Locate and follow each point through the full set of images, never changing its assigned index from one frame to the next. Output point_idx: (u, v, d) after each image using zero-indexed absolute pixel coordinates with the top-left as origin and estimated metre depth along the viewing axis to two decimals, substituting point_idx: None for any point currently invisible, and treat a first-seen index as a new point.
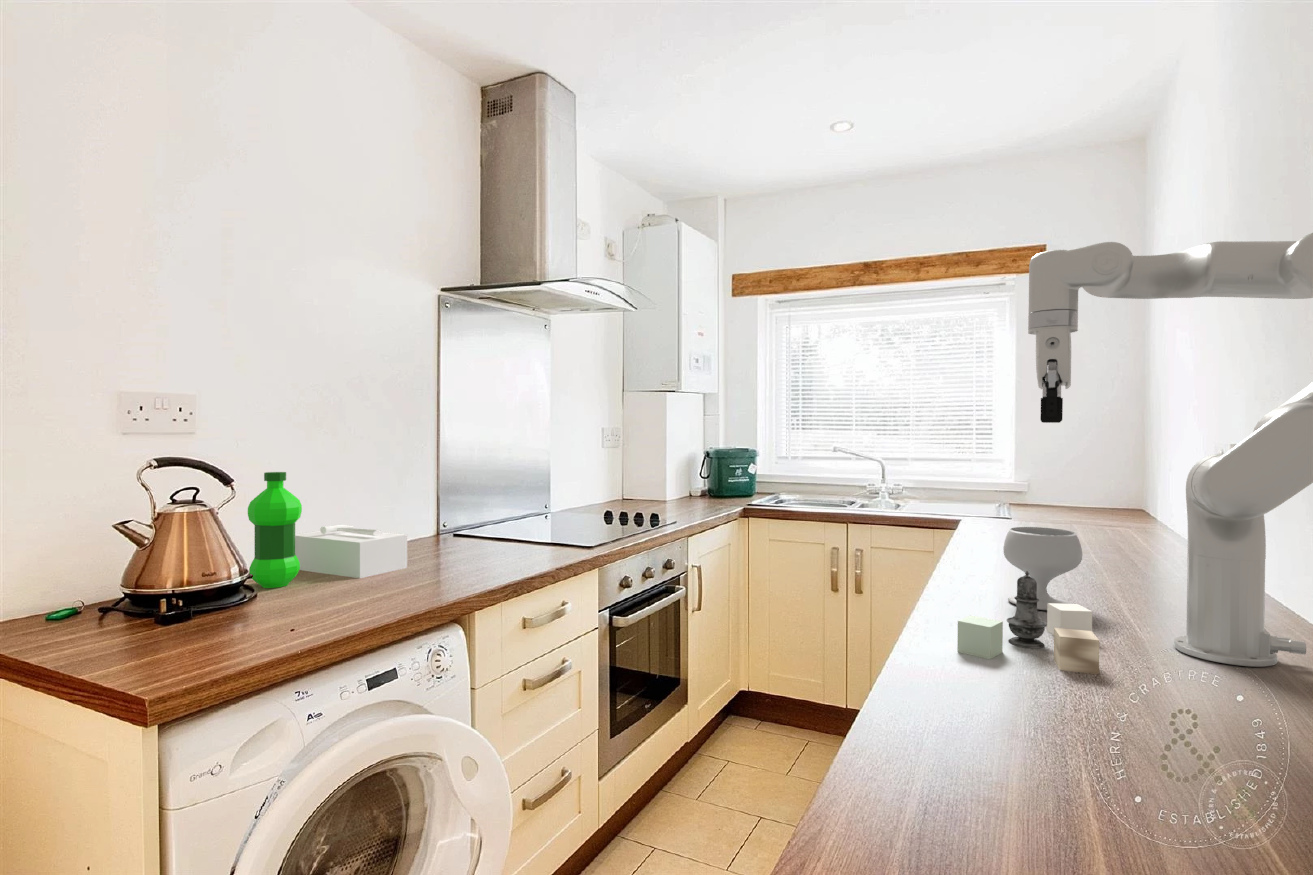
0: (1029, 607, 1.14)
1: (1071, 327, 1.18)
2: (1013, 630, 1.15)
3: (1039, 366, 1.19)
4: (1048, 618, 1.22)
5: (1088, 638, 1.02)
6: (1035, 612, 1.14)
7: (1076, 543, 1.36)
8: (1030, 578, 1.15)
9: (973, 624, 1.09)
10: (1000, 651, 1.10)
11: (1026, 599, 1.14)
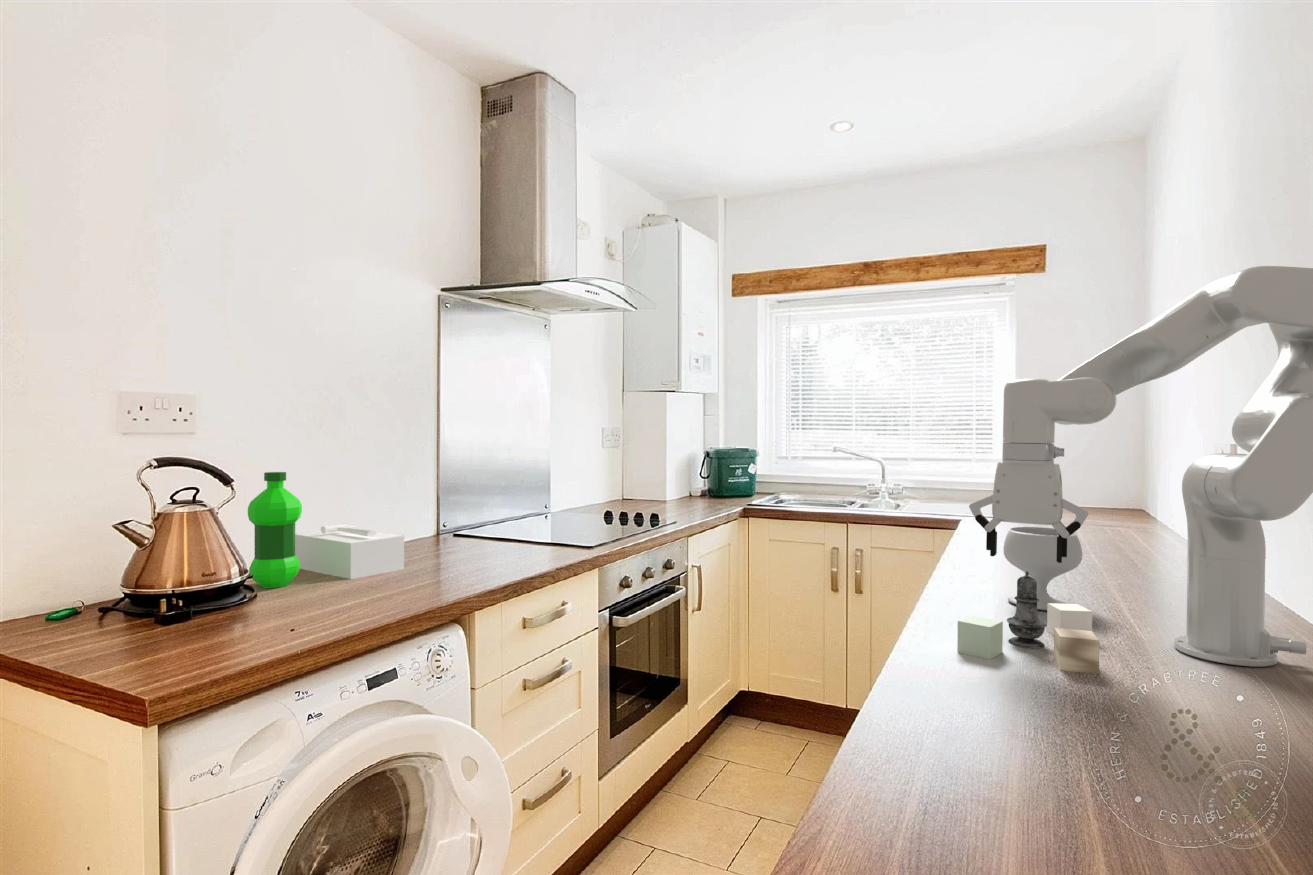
0: (1029, 607, 1.14)
1: None
2: (1013, 630, 1.15)
3: (1060, 504, 1.11)
4: (1048, 618, 1.22)
5: (1088, 638, 1.02)
6: (1035, 612, 1.14)
7: (1076, 543, 1.36)
8: (1030, 578, 1.15)
9: (973, 624, 1.09)
10: (1000, 651, 1.10)
11: (1026, 599, 1.14)
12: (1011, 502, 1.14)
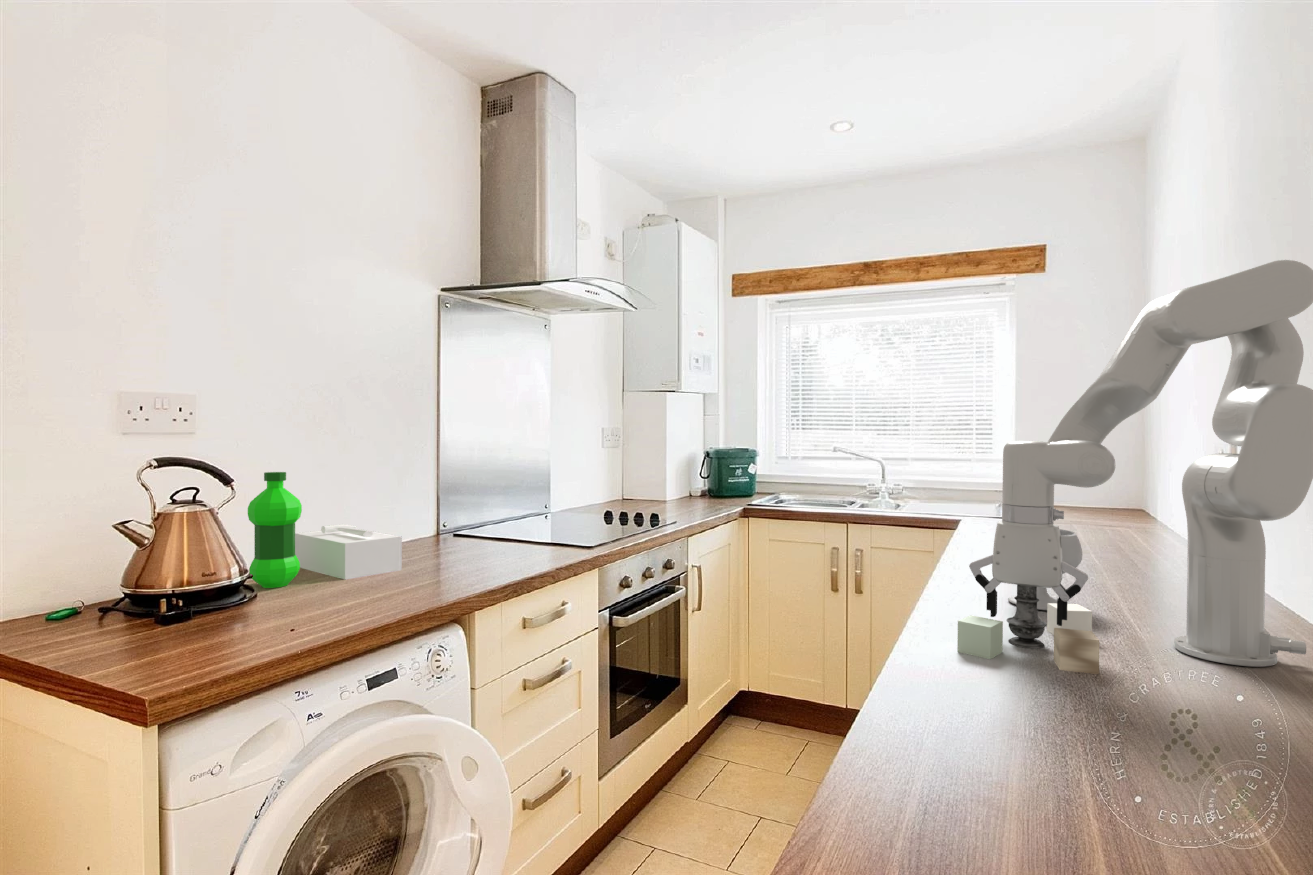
0: (1029, 607, 1.14)
1: None
2: (1013, 630, 1.15)
3: (1060, 567, 1.11)
4: (1048, 618, 1.22)
5: (1088, 638, 1.02)
6: (1035, 612, 1.14)
7: (1076, 543, 1.36)
8: None
9: (973, 624, 1.09)
10: (1000, 651, 1.10)
11: (1026, 599, 1.14)
12: (1011, 564, 1.14)
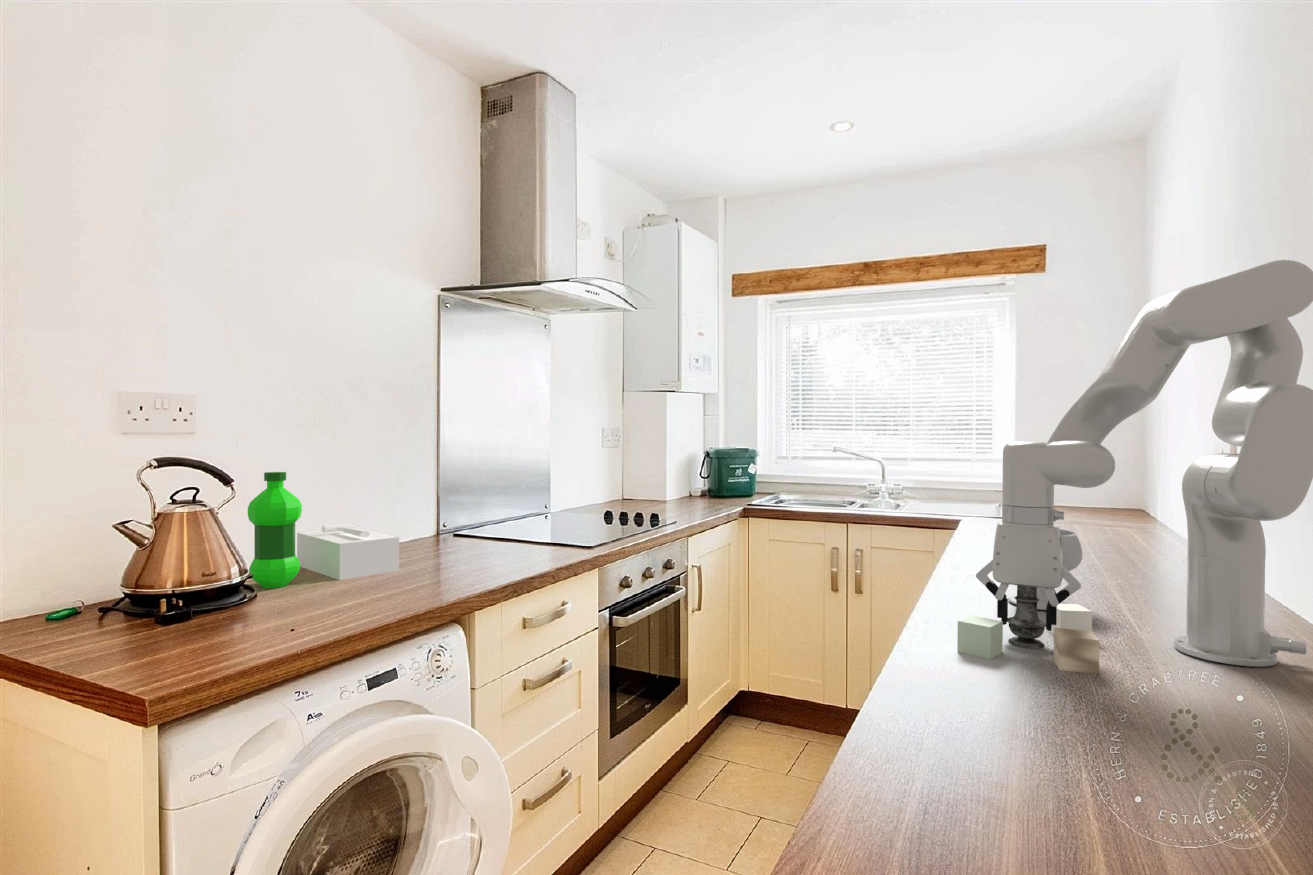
0: (1029, 607, 1.14)
1: None
2: (1013, 630, 1.15)
3: (1060, 568, 1.11)
4: None
5: (1088, 638, 1.02)
6: (1035, 612, 1.14)
7: (1076, 543, 1.36)
8: None
9: (973, 624, 1.09)
10: (1000, 651, 1.10)
11: (1026, 599, 1.14)
12: (1011, 565, 1.14)
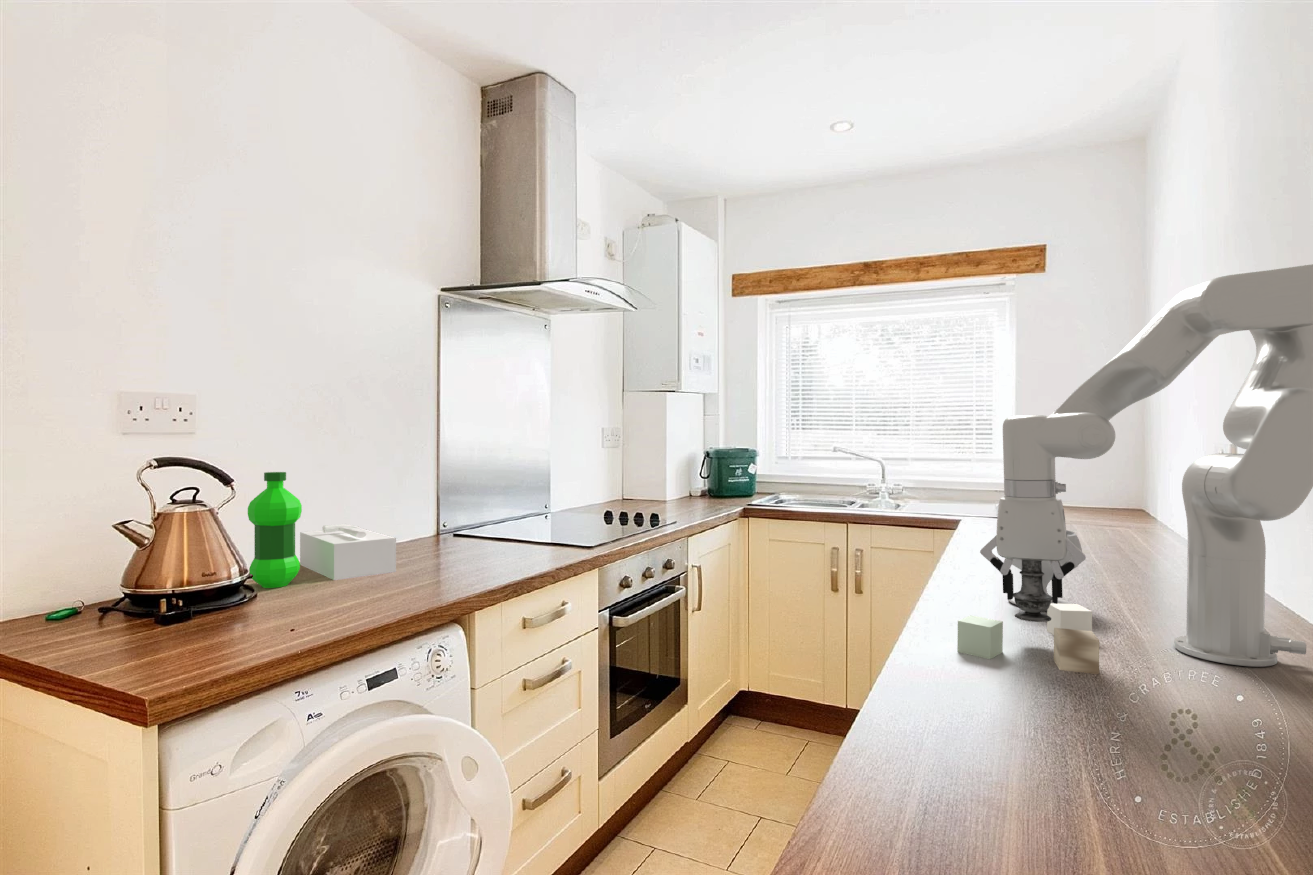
0: (1034, 581, 1.14)
1: None
2: (1020, 604, 1.15)
3: (1064, 540, 1.11)
4: None
5: (1088, 638, 1.02)
6: (1041, 586, 1.14)
7: (1076, 543, 1.36)
8: None
9: (973, 624, 1.09)
10: (1000, 651, 1.10)
11: (1031, 573, 1.14)
12: (1015, 539, 1.14)
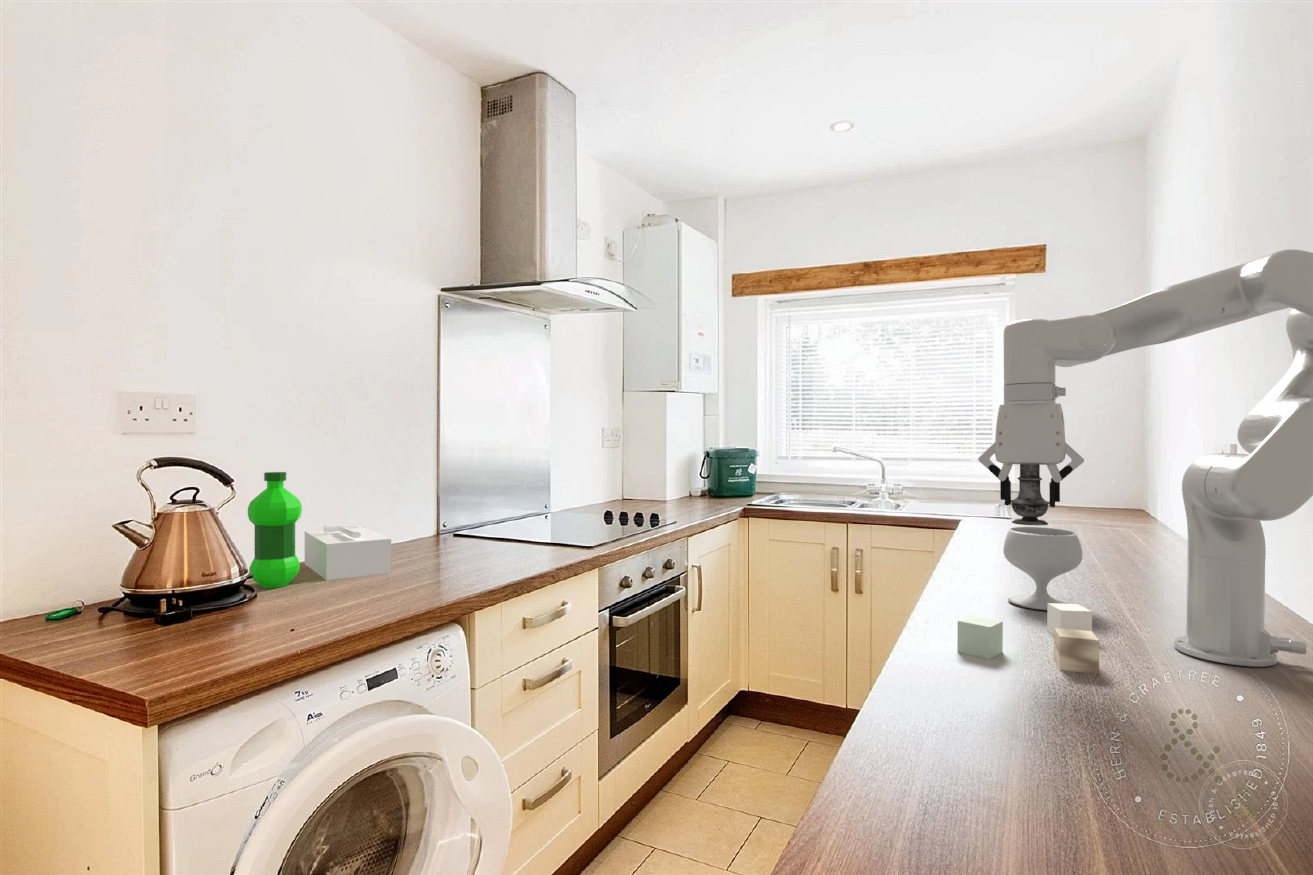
0: (1032, 485, 1.14)
1: None
2: (1017, 509, 1.15)
3: (1062, 443, 1.11)
4: (1048, 618, 1.22)
5: (1088, 638, 1.02)
6: (1038, 490, 1.14)
7: (1076, 543, 1.36)
8: None
9: (973, 624, 1.09)
10: (1000, 651, 1.10)
11: (1029, 477, 1.14)
12: (1014, 443, 1.14)
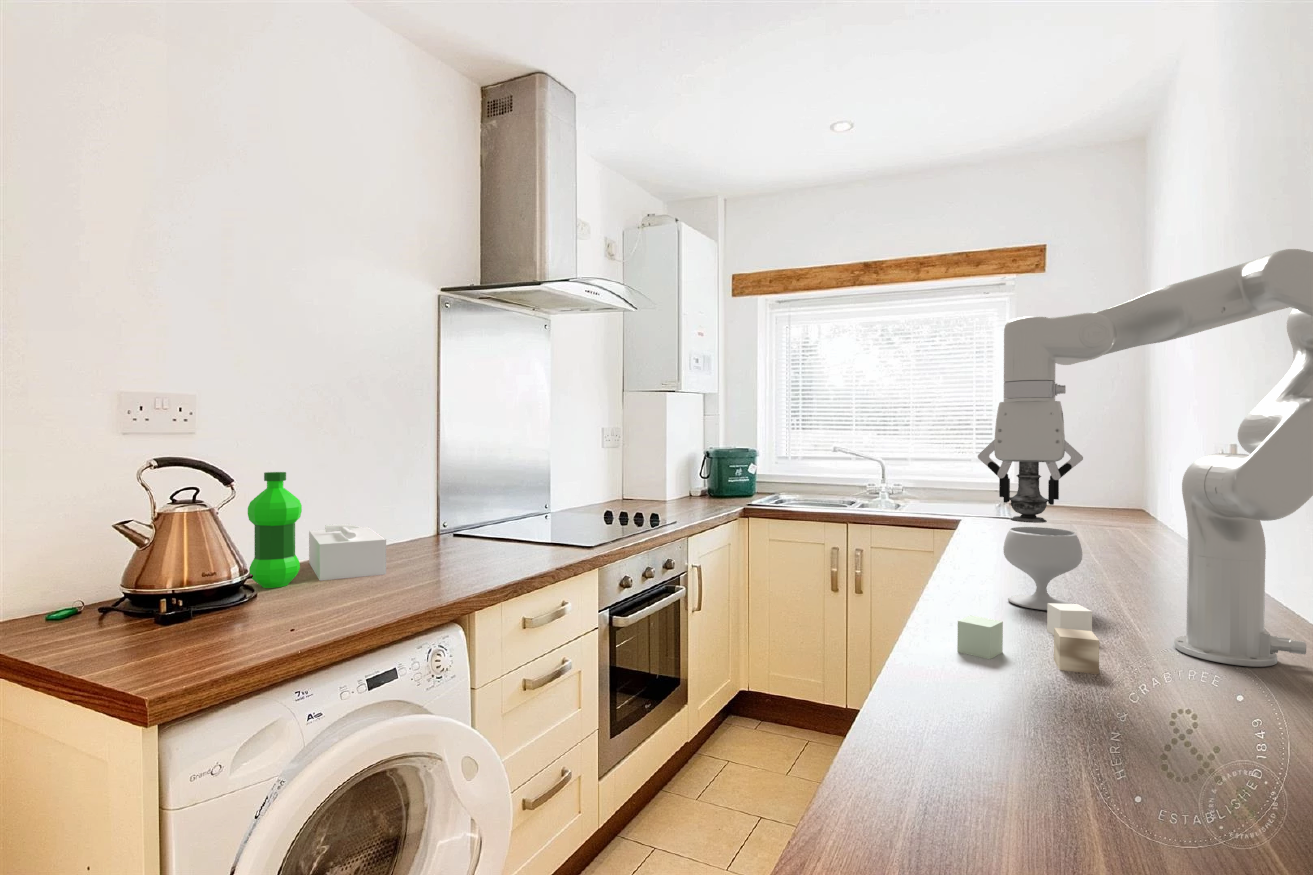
0: (1031, 483, 1.14)
1: None
2: (1016, 506, 1.15)
3: (1062, 440, 1.11)
4: (1048, 618, 1.22)
5: (1088, 638, 1.02)
6: (1037, 488, 1.14)
7: (1076, 543, 1.36)
8: None
9: (973, 624, 1.09)
10: (1000, 651, 1.10)
11: (1028, 474, 1.14)
12: (1013, 441, 1.14)
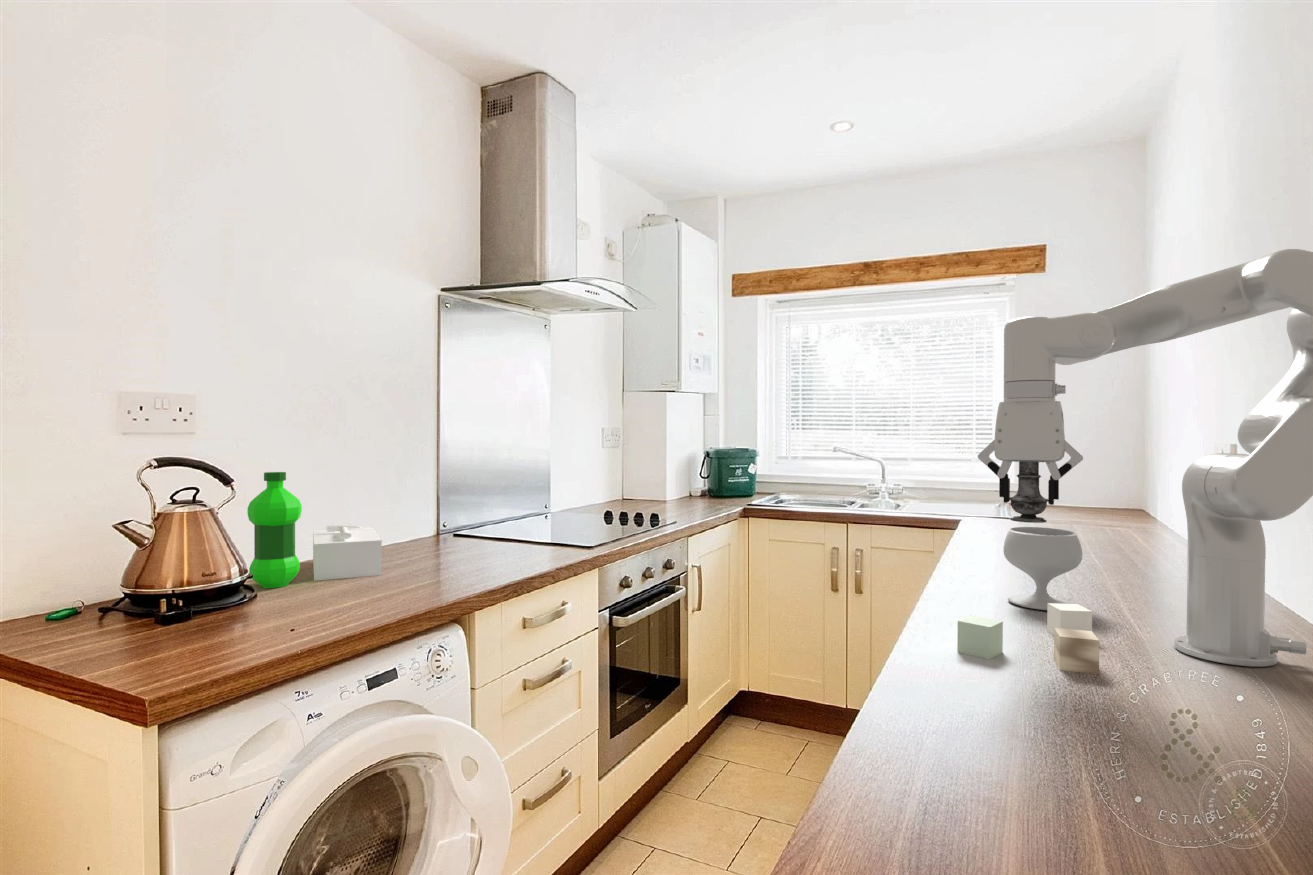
0: (1031, 483, 1.14)
1: None
2: (1016, 506, 1.15)
3: (1062, 440, 1.11)
4: (1048, 618, 1.22)
5: (1088, 638, 1.02)
6: (1037, 488, 1.14)
7: (1076, 543, 1.36)
8: None
9: (973, 624, 1.09)
10: (1000, 651, 1.10)
11: (1028, 474, 1.14)
12: (1013, 441, 1.14)
